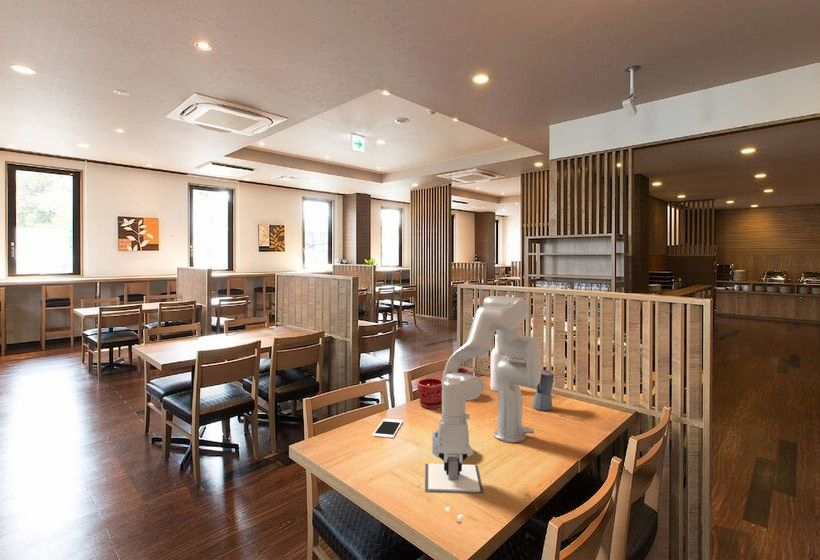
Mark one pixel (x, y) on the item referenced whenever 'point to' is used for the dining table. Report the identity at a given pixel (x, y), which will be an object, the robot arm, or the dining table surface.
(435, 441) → the bowl
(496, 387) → the bottle
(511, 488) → the dining table surface
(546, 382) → the moka pot
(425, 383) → the plant pot
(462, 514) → the acanthus leaf ornament
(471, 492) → the mat
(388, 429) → the cell phone
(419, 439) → the dining table surface
